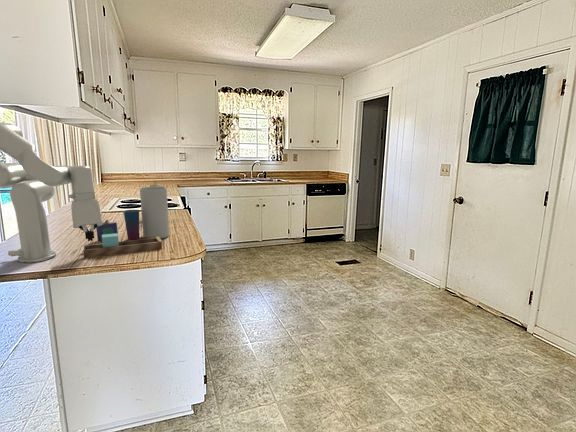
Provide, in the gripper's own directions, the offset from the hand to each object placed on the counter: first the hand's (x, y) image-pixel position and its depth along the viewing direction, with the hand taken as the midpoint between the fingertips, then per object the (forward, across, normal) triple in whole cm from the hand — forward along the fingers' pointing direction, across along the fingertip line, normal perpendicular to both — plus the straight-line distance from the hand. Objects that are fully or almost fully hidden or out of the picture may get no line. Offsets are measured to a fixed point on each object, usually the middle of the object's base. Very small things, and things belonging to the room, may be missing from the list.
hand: (90, 240), depth 140 cm
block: (+6, +7, 0) cm, 9 cm away
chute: (+7, +12, 0) cm, 14 cm away
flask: (+7, +6, +23) cm, 25 cm away
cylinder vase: (+8, +28, +22) cm, 37 cm away
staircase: (+8, +35, +68) cm, 77 cm away
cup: (+8, +17, +18) cm, 26 cm away
